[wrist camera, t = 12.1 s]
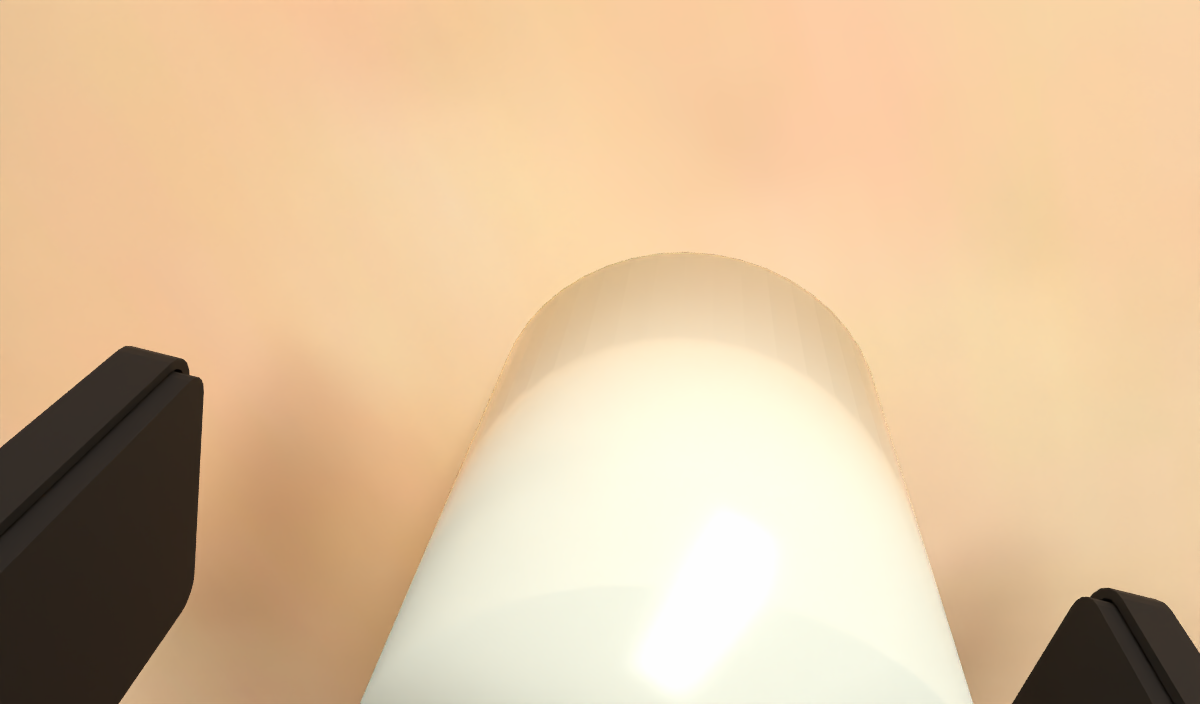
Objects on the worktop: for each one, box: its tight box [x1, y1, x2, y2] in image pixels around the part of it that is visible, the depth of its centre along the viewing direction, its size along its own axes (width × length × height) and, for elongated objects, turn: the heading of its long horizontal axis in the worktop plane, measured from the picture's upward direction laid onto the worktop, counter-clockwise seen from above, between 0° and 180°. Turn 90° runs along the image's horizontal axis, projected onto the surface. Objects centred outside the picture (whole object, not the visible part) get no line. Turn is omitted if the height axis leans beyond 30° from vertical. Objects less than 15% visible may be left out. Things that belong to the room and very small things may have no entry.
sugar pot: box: [360, 252, 973, 704], centre depth 10 cm, size 5×5×7 cm
